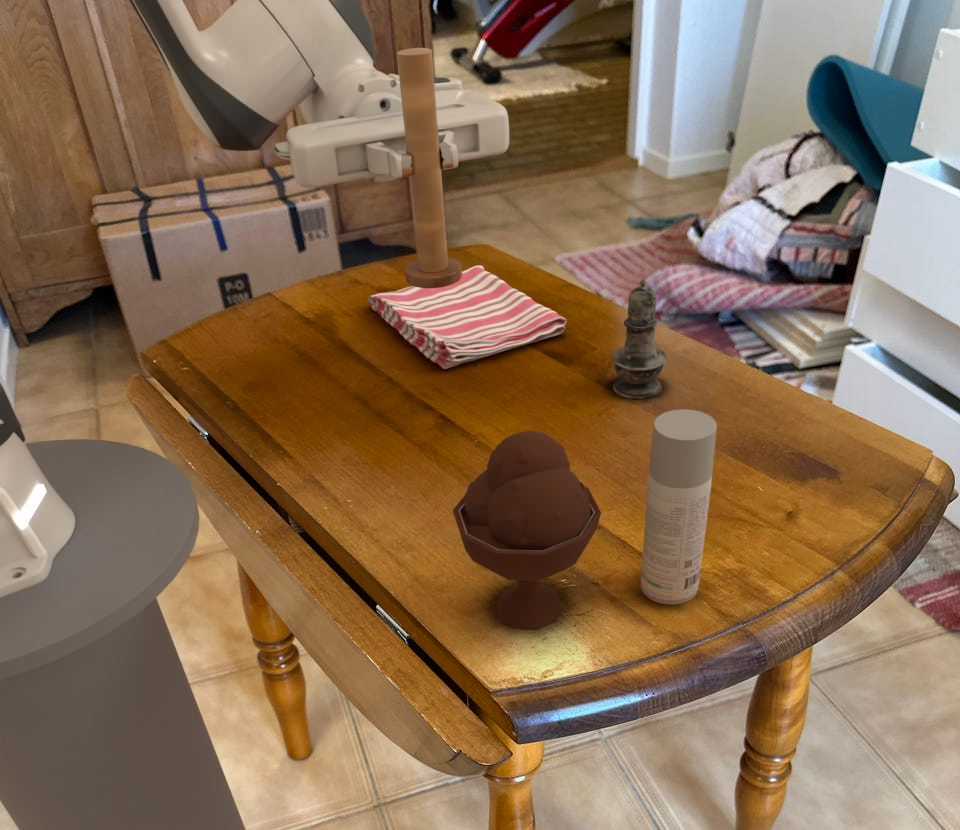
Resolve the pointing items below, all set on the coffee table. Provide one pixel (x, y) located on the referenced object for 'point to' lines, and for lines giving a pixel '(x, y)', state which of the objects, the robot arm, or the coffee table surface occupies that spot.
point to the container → (677, 505)
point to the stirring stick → (425, 172)
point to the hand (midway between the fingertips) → (427, 162)
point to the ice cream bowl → (527, 524)
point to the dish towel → (467, 318)
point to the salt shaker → (639, 348)
